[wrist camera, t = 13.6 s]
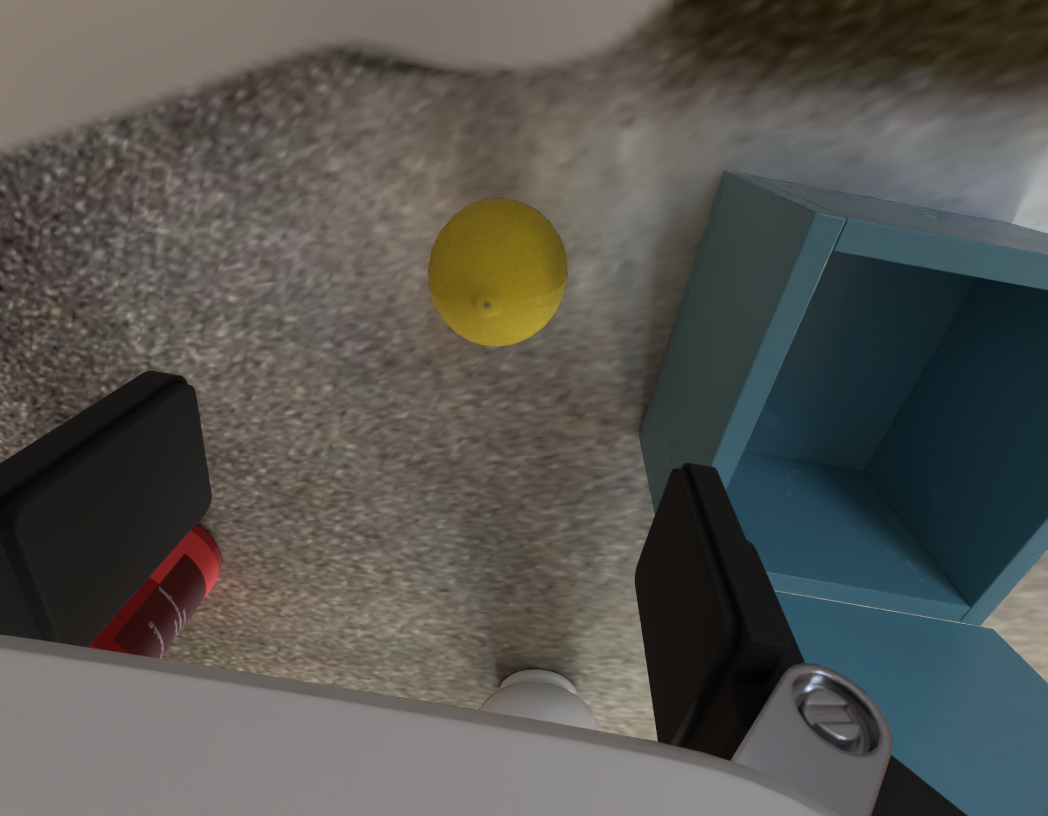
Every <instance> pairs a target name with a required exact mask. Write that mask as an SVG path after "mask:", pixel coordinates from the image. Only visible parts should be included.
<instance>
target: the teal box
mask: <svg viewBox="0 0 1048 816" xmlns="http://www.w3.org/2000/svg"><path fill="white" fill-rule="evenodd" d="M639 440H640V445H641V449H642V454H643V459H644V464H645V469H646V473H647V478H648V483H649V488H650V493H651V497H652V502H653V507H654V512H655V514H656V512H657V509H658V506H659V503H660V501H661V498H662V495H663V492H664V489H665V487H666V484H667V481H668V478H669V476H670V473H671V471H672V470H673V469H674V468H679V469H681V467H682V466H683V464H684V463H686V462H687V463H693V464H699V465H705V466H711V467H715V468H716V469H717V471H718V473H719V475H720V478H721V480H722V483H723V485H724V487H725V490H726V492H727V495H728V497H729V499H730V502H731V504H732V506H733V509H734V511H735V514H736V516H737V518H738V521H739V523H740V526H741V528H742V530H743V533H744V535H745V538H746V540H748V541H750V542H751V543H753V545H754V546H755V548H756V550H757V552H758V554H759V557H760V559H761V561H762V563H763V566H764V568H765V570H766V573H767V575H768V577H769V580H770V582H771V584H772V587H773V589H774V590H775V591H781V592H787V593H793V594H798V595H804V596H810V597H816V598H822V599H828V600H833V601H839V602H845V603H851V604H857V605H862V606H868V607H874V608H880V609H886V610H891V611H897V612H903V613H909V614H915V615H921V616H926V617H932V618H938V619H944V620H950V621H955V622H958V621H959V622H961V623H966V624H972V625H978V626H980V625H981V624H982V623H983V622H984V621H985V620H986V619H987V618H988V616H989V615H990V614H991V613H992V612H993V611H994V610H995V608H996V607H997V606H998V605H999V604H1000V603H1001V602H1002V601H1003V599H1004V598H1005V597H1006V596H1007V595H1008V594H1009V593H1010V592H1011V590H1012V589H1013V588H1014V587H1015V586H1016V585H1017V584H1018V582H1019V581H1020V580H1021V579H1022V578H1023V577H1024V576H1025V575H1026V573H1027V572H1028V571H1029V570H1030V569H1031V568H1032V567H1033V565H1034V564H1035V563H1036V562H1037V561H1038V560H1039V559H1040V558H1041V556H1042V555H1043V554H1044V553H1045V552H1046V551H1047V550H1048V234H1047V233H1044V232H1040V231H1036V230H1033V229H1029V228H1026V227H1022V226H1019V225H1015V224H1010V223H1005V222H999V221H994V220H989V219H983V218H978V217H972V216H967V215H962V214H956V213H951V212H946V211H940V210H935V209H929V208H924V207H919V206H913V205H908V204H903V203H897V202H892V201H886V200H881V199H876V198H870V197H865V196H860V195H854V194H849V193H843V192H838V191H833V190H827V189H822V188H817V187H811V186H806V185H801V184H795V183H790V182H784V181H779V180H774V179H768V178H763V177H758V176H752V175H747V174H741V173H736V172H731V171H724V173H723V176H722V179H721V182H720V186H719V189H718V192H717V195H716V198H715V201H714V204H713V207H712V210H711V214H710V217H709V220H708V223H707V226H706V229H705V232H704V235H703V239H702V242H701V245H700V248H699V251H698V254H697V257H696V260H695V263H694V267H693V270H692V273H691V276H690V279H689V282H688V285H687V288H686V291H685V295H684V298H683V301H682V304H681V307H680V310H679V313H678V316H677V320H676V323H675V326H674V329H673V332H672V335H671V338H670V341H669V344H668V348H667V351H666V354H665V357H664V360H663V363H662V366H661V369H660V373H659V376H658V379H657V382H656V385H655V388H654V391H653V394H652V397H651V401H650V404H649V407H648V410H647V413H646V416H645V419H644V422H643V426H642V429H641V432H640V435H639Z"/></svg>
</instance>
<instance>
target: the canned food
mask: <svg viewBox="0 0 1048 816" xmlns="http://www.w3.org/2000/svg"><path fill="white" fill-rule="evenodd" d="M221 562H222V559H221V554H220V551H219V549H218V547H217V545H216V543H215V542H214V540H213V539H212V538H211V536H210V535H209V534H208V533H207V532H206V531H205V530H204V529H202V528H201V527H200V526H198V525H197V524H196V525H195V526H194V527H193V528H192V529H191V531H190V532H189V533H188V534H187V535H186V536H185V537H184V539H183V540H182V541H181V542H180V543H179V544H178V545H177V546H176V548H175V549H174V550H173V551H172V552H171V553H170V554H169V556H168V557H167V558H166V559H165V560H164V561H163V562H162V563H161V565H160V566H159V567H158V568H157V569H156V570H155V571H154V573H153V574H152V575H151V576H150V577H149V578H148V579H147V581H146V582H145V583H144V584H143V585H142V586H141V587H140V588H139V590H138V591H137V592H136V593H135V594H134V595H133V596H132V598H131V599H130V600H129V601H128V602H127V603H126V604H125V605H124V607H123V608H122V609H121V610H120V611H119V612H118V613H117V615H116V616H115V617H114V618H113V619H112V620H111V621H110V622H109V624H108V625H107V626H106V627H105V628H104V629H103V630H102V632H101V633H100V634H99V635H98V636H97V637H96V638H95V640H94V641H93V642H92V643H91V644H90V645H89V646H88V648H94V649H101V650H107V651H114V652H120V653H127V654H133V655H140V656H146V657H152V658H159V659H161V657H162V656H163V655H164V653H165V652H166V651H167V649H168V648H169V646H170V645H171V644H172V642H173V641H174V639H175V638H176V637H177V635H178V634H179V633H180V631H181V630H182V628H183V627H184V626H185V624H186V623H187V622H188V620H189V619H190V617H191V616H192V615H193V613H194V612H195V610H196V609H197V608H198V606H199V605H200V604H201V602H202V601H203V599H204V598H205V597H206V595H207V594H208V592H209V591H210V590H211V588H212V587H213V586H214V584H215V582H216V580H217V578H218V575H219V572H220V569H221Z"/></svg>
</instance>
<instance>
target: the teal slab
mask: <svg viewBox="0 0 1048 816" xmlns="http://www.w3.org/2000/svg"><path fill="white" fill-rule="evenodd" d="M775 594H776V596H777V598H778V601H779V603H780V605H781V607H782V610H783V612H784V614H785V617H786V619H787V621H788V624H789V626H790V628H791V631H792V633H793V635H794V638H795V640H796V642H797V645H798V647H799V649H800V651H801V654H802V656H803V658H804V661H805V663H812V664H819V665H822V666H825V667H828V668H830V669H833V670H835V671H837V672H839V673H840V674H842V675H844V676H846V677H847V678H849V679H850V680H852V681H853V682H854V683H855V684H857V685H858V686H859V687H860V688H862V689H863V690H864V691H865V692H866V693H867V694H868V695H869V696H870V697H871V699H872V700H873V701H874V702H875V703H876V704H877V705H878V707H879V708H880V710H881V712H882V713H883V715H884V717H885V718H886V720H887V722H888V724H889V727H890V731H891V734H892V737H893V743H892V753H891V755H893V756H894V757H895V758H896V759H898V760H899V761H900V762H901V763H903V764H904V765H905V766H906V767H908V768H909V769H910V770H911V771H913V772H914V773H915V774H916V775H918V776H919V777H920V778H921V779H923V780H924V781H925V782H926V783H928V784H929V785H930V786H931V787H933V788H934V789H935V790H936V791H938V792H939V793H940V794H941V795H943V796H944V797H945V798H946V799H948V800H949V801H950V802H951V803H953V804H954V805H955V806H956V807H958V808H959V809H960V810H961V811H963V812H964V813H965V814H966V815H968V816H1048V683H1047V682H1046V681H1045V680H1044V679H1043V678H1042V677H1041V676H1040V675H1039V674H1038V673H1037V672H1036V671H1035V670H1034V669H1033V668H1032V667H1031V666H1030V665H1029V664H1028V663H1027V662H1026V661H1025V660H1024V659H1023V658H1022V657H1021V656H1020V655H1019V654H1018V653H1016V652H1015V651H1014V650H1013V649H1012V648H1011V647H1010V646H1009V645H1008V644H1007V643H1006V642H1005V641H1004V640H1003V639H1002V638H1001V637H1000V636H999V635H998V634H997V633H996V632H995V631H994V630H993V629H990V628H984V627H978V626H973V625H967V624H961V623H955V622H949V621H943V620H938V619H932V618H926V617H920V616H914V615H909V614H903V613H897V612H891V611H885V610H880V609H874V608H868V607H862V606H856V605H850V604H845V603H839V602H833V601H827V600H821V599H816V598H810V597H804V596H798V595H792V594H787V593H781V592H775Z"/></svg>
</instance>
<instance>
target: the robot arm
mask: <svg viewBox="0 0 1048 816" xmlns="http://www.w3.org/2000/svg"><path fill="white" fill-rule="evenodd" d="M211 499H212V493H211V487H210V480H209V474H208V468H207V461H206V455H205V449H204V442H203V436H202V430H201V423H200V417H199V411H198V404H197V398H196V393H195V389H194V388H193V386H191V385H188V383H187V381H186V379H185V378H184V377H182V376H179V375H173V374H168V373H162V372H156V371H147V372H144V373H142V374H141V375H139V376H138V377H136V378H134V379H133V380H131V381H130V382H128V383H126V384H125V385H123V386H122V387H120V388H119V389H117V390H115V391H114V392H112V393H111V394H109V395H107V396H106V397H104V398H103V399H101V400H100V401H98V402H96V403H95V404H93V405H92V406H90V407H89V408H87V409H85V410H84V411H82V412H81V413H79V414H77V415H76V416H74V417H73V418H71V419H70V420H68V421H66V422H65V423H63V424H62V425H60V426H59V427H57V428H55V429H54V430H52V431H51V432H49V433H47V434H46V435H44V436H43V437H41V438H40V439H38V440H36V441H35V442H33V443H32V444H30V445H29V446H27V447H25V448H24V449H22V450H21V451H19V452H17V453H16V454H14V455H13V456H11V457H10V458H8V459H6V460H5V461H3V462H2V463H0V816H968V815H966V814H965V813H964V812H963V811H961V810H960V809H959V808H958V807H956V806H955V805H954V804H953V803H951V802H950V801H949V800H948V799H946V798H945V797H944V796H943V795H941V794H940V793H939V792H938V791H936V790H935V789H934V788H933V787H931V786H930V785H929V784H928V783H926V782H925V781H924V780H923V779H921V778H920V777H919V776H918V775H916V774H915V773H914V772H913V771H911V770H910V769H909V768H908V767H906V766H905V765H904V764H903V763H901V762H900V761H899V760H898V759H896V758H895V757H894V756H893V755H891V753H892V743H893V737H892V734H891V731H890V727H889V724H888V722H887V720H886V718H885V717H884V715H883V713H882V712H881V710H880V708H879V707H878V705H877V704H876V703H875V702H874V701H873V700H872V699H871V697H870V696H869V695H868V694H867V693H866V692H865V691H864V690H863V689H862V688H860V687H859V686H858V685H857V684H855V683H854V682H853V681H852V680H850V679H849V678H847V677H846V676H844V675H842V674H840V673H839V672H837V671H835V670H833V669H830V668H828V667H825V666H822V665H819V664H812V663H805V661H804V658H803V656H802V654H801V651H800V649H799V647H798V645H797V642H796V640H795V638H794V635H793V633H792V631H791V628H790V626H789V624H788V621H787V619H786V617H785V614H784V612H783V610H782V607H781V605H780V603H779V601H778V598H777V596H776V594H775V591H774V589H773V587H772V584H771V582H770V580H769V577H768V575H767V573H766V570H765V568H764V566H763V563H762V561H761V559H760V557H759V554H758V552H757V550H756V548H755V546H754V545H753V543H751V542H750V541H748V540H746V538H745V535H744V533H743V530H742V528H741V526H740V523H739V521H738V518H737V516H736V514H735V511H734V509H733V506H732V504H731V502H730V499H729V497H728V495H727V492H726V490H725V487H724V485H723V483H722V480H721V478H720V475H719V473H718V471H717V469H716V468H715V467H711V466H705V465H699V464H693V463H687V462H686V463H684V464H683V466H682V467H681V469H679V468H674V469H673V470H672V471H671V473H670V476H669V478H668V481H667V484H666V487H665V489H664V492H663V495H662V498H661V501H660V503H659V506H658V509H657V512H656V514H655V517H654V520H653V523H652V525H651V528H650V531H649V534H648V536H647V539H646V542H645V545H644V547H643V550H642V553H641V556H640V558H639V561H638V564H637V567H636V572H635V587H636V594H637V601H638V608H639V615H640V622H641V628H642V635H643V642H644V649H645V656H646V663H647V669H648V676H649V683H650V690H651V697H652V703H653V710H654V717H655V724H656V731H657V738H658V742H656V741H651V740H646V739H640V738H635V737H629V736H624V735H619V734H613V733H608V732H602V731H597V730H591V729H586V728H581V727H575V726H570V725H564V724H559V723H553V722H547V721H541V720H535V719H529V718H523V717H517V716H511V715H505V714H499V713H493V712H487V711H481V710H475V709H469V708H463V707H457V706H451V705H445V704H439V703H433V702H427V701H421V700H415V699H409V698H403V697H397V696H391V695H385V694H378V693H372V692H366V691H360V690H354V689H348V688H341V687H335V686H329V685H323V684H317V683H310V682H304V681H298V680H292V679H285V678H279V677H273V676H267V675H260V674H254V673H248V672H242V671H235V670H229V669H223V668H217V667H210V666H204V665H198V664H191V663H185V662H178V661H172V660H165V659H159V658H152V657H146V656H140V655H133V654H127V653H120V652H114V651H107V650H101V649H94V648H88V646H89V645H90V644H91V643H92V642H93V641H94V640H95V638H96V637H97V636H98V635H99V634H100V633H101V632H102V630H103V629H104V628H105V627H106V626H107V625H108V624H109V622H110V621H111V620H112V619H113V618H114V617H115V616H116V615H117V613H118V612H119V611H120V610H121V609H122V608H123V607H124V605H125V604H126V603H127V602H128V601H129V600H130V599H131V598H132V596H133V595H134V594H135V593H136V592H137V591H138V590H139V588H140V587H141V586H142V585H143V584H144V583H145V582H146V581H147V579H148V578H149V577H150V576H151V575H152V574H153V573H154V571H155V570H156V569H157V568H158V567H159V566H160V565H161V563H162V562H163V561H164V560H165V559H166V558H167V557H168V556H169V554H170V553H171V552H172V551H173V550H174V549H175V548H176V546H177V545H178V544H179V543H180V542H181V541H182V540H183V539H184V537H185V536H186V535H187V534H188V533H189V532H190V531H191V529H192V528H193V527H194V526H195V525H196V524H197V523H198V522H199V520H200V519H201V518H202V517H203V516H204V515H205V513H206V512H207V511H208V509H209V507H210V504H211Z"/></svg>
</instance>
